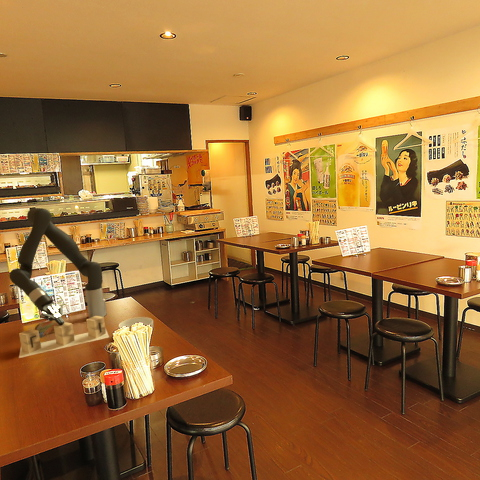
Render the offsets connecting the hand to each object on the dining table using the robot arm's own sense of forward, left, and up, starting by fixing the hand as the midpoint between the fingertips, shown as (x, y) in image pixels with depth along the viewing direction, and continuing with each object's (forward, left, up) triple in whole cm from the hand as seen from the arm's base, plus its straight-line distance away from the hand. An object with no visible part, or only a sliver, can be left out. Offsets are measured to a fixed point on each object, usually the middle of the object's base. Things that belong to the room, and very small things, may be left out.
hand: (62, 323), depth 193 cm
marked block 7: (+13, -8, -10) cm, 18 cm away
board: (0, 0, -11) cm, 11 cm away
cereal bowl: (-22, +27, -11) cm, 36 cm away
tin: (-4, -19, -11) cm, 22 cm away
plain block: (0, 0, -10) cm, 10 cm away
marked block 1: (-13, +8, -10) cm, 18 cm away
